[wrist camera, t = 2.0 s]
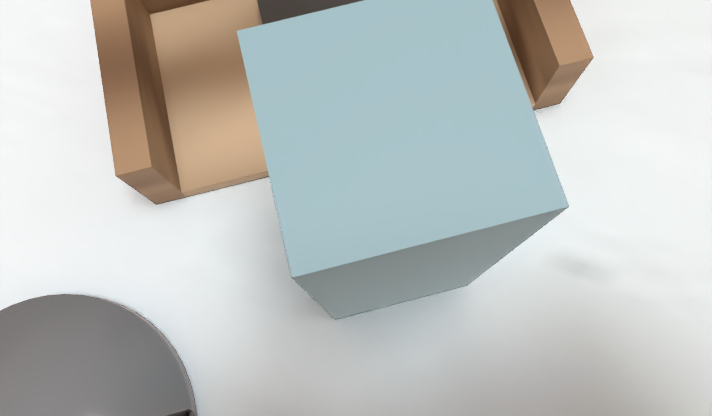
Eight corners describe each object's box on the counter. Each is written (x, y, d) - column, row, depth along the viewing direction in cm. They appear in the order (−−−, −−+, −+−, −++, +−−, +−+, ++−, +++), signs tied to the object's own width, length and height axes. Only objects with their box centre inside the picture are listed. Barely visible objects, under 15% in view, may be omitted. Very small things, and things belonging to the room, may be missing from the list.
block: (467, 285, 20) (569, 206, 10) (335, 319, 20) (291, 277, 10) (429, 161, 22) (482, -29, 11) (304, 192, 21) (237, 30, 11)
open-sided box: (559, 103, 22) (593, 57, 19) (156, 204, 21) (115, 175, 18) (488, -81, 24) (506, -152, 21) (124, 5, 24) (82, -52, 20)
